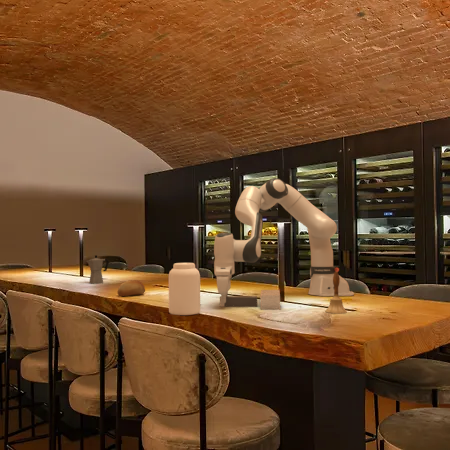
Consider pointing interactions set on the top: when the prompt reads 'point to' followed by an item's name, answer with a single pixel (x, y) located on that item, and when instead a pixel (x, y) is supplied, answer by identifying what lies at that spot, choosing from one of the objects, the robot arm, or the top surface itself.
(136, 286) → the bread roll
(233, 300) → the plug bar
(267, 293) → the block
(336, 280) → the hand bell
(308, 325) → the top surface
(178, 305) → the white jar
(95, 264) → the coffeepot
